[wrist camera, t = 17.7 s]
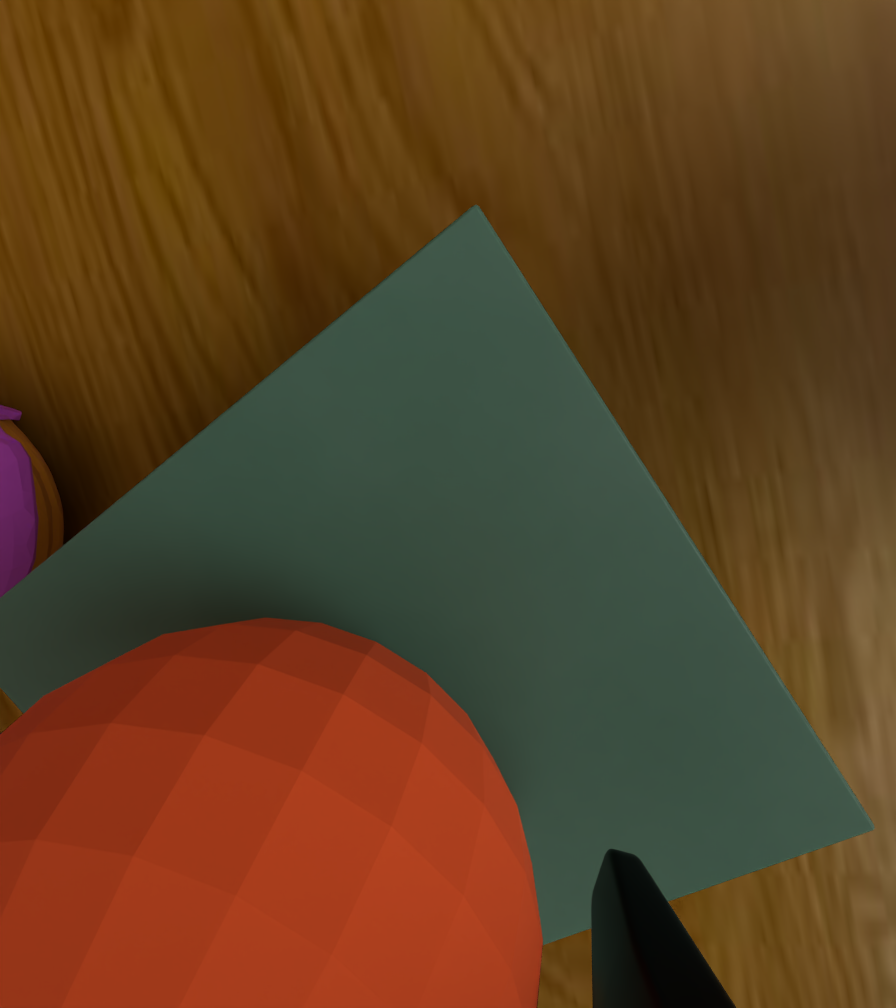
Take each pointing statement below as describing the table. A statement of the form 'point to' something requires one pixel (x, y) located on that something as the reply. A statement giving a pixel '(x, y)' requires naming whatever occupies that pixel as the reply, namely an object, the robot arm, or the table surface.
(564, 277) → the table surface
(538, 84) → the table surface
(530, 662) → the lid
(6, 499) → the donut
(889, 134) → the table surface
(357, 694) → the clementine
